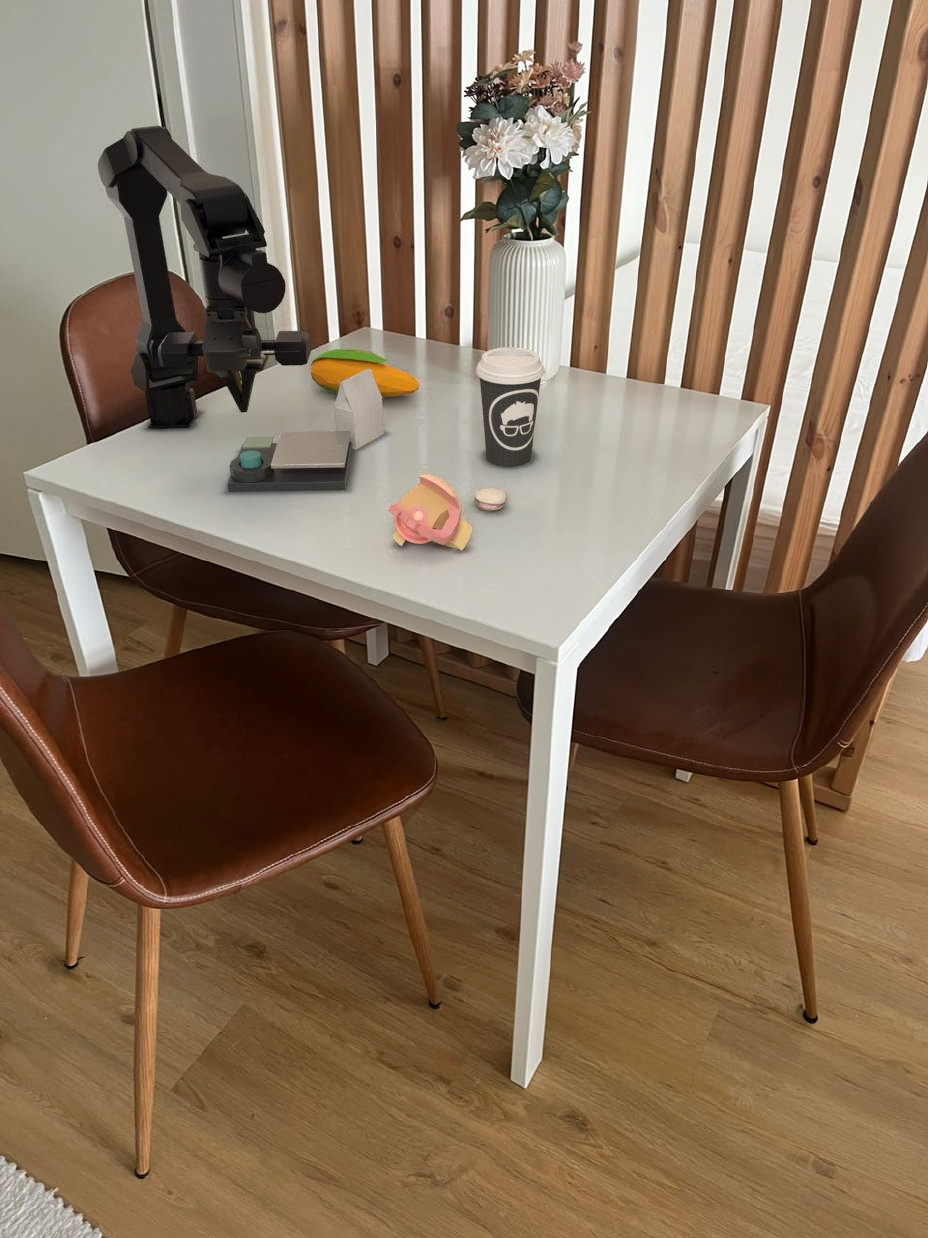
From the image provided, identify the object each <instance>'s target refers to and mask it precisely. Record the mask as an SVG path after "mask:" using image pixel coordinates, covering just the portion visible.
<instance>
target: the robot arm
mask: <svg viewBox="0 0 928 1238" xmlns="http://www.w3.org/2000/svg"><path fill="white" fill-rule="evenodd" d="M97 170H98V171H97V172H98V175H99V178H100V181H101V183H102V185H103V186H104V188H105V191H106V195H107V197H108V199H109V200H110V201H111V203H112V204H113V205H114V206H115V208H117V210H118V211H119V212H120V213H121V215H122V216H123V219H124V220H123V221H124V225H125V231H126V232H125V233H126V235H127V243H128V247H129V252H130V257H131V263H132V268H133V274H134V281H135V285H136V290H137V296H138V301H139V306H140V312H141V315H142V321H141V323H140V326H139V328H138V331H137V334H136V335H135V340H134V341H135V347H136V349H135V350H136V353H135V355H134V358H133V362H132V366H131V368H130V374H131V377H132V380H133V384H134V385H135V386H136V387H137V388H139V389H140V390H141V391H142V392H144V396H145V400H146V401H145V402H146V406H147V411H148V415H149V416H148V417H149V421H148V423H147V428H148V429H187V428H190V427H191V425H192V423H193V422H194V420H195V419H196V417H197V415H198V407H197V401H196V393H195V389H193V388H191V387H190V385H191V384H190V383H193V382H198V380H199V357H203V358H204V361H205V365H206V367H205V370H206V372H208V373H214V374H216V375H217V376H218V378H220V379H221V380H222V382H223V383H224V384H225V386H226V388H227V389H228V391H229V393H230V395H231V398H233V401H234V403H235V404H236V406H237V408H238V411H239V412H240V413H243V414H244V413H248V411H249V407H250V402H251V396H252V393H253V387H254V383H255V378H256V375H257V372H258V373H260V372H263V371H264V370H265V369H266V365H267V363H268V360H269V356H274V360H275V361H276V362H277V363H278V364H280V365H281V366H282V367H287V366H289V367H290V366H292V367H293V366H305V365H307V364H308V362H309V359H310V356H311V353H312V343H311V336H310V334H309V333H308V332H307V331H306V330H279V331H278V333H277V336H276V338H275V339H262V337H261V333H260V331H259V329H258V328H257V326H256V319H255V313H257V314H267V313H271V312H273V311H275V310H276V309H277V308H278V307H280V305H281V303H282V302H283V300H284V298H285V295H286V279H285V278H284V276H283V274H282V272H281V271H280V270H279V268H278V267H277V266H275V265H273V264H272V263H269V262H268V257H267V252H266V251H264V250H261V248H266V247H267V246H268V243H267V240H266V238H265V233H266V230H265V227H264V226H263V224H262V222H261V220H260V218H259V216H258V214H257V212H256V210H255V209H254V206H253V204H252V202H251V199H250V198H249V196H248V195H247V193H246V192H245V191H244V190H243V188H242V187H241V186H240V185H239V184H238V183H237V182H234V181H233V180H231V179H230V178H227V177H225V176H222V175H217V174H212V173H209V172H207V171H206V170H205V169H204V168H203V167H201V166H200V165H199V163H197V162H196V161H195V159H193V157H191V156H190V155H189V154H188V153H187V151H185V150H184V149H183V148H182V147H181V146H180V145H179V144H178V143H177V142H176V141H175V140H174V139H173V138H172V135H171V133H170V131H169V129H168V128H167V127H166V126H163V127H162V126H161V125H152V126H151V125H150V126H142V127H133V128H131V129H130V130H128V131H126V132H125V134H124V135H123V137H122V138H121V139H118V140H117V141H115V142H114V143H112V144H110V145H109V146H106V147H105V148H104V150H103V151H102V153H101V155H100V156H99V159H98V161H97ZM168 193H169V194H170V195H171V196H172V197H173V198H174V199H175V200H176V201H177V203H178V204H179V205H180V220H181V222H182V224H183V225H184V227H185V229H186V231H187V232H188V234H189V236H190V237H191V239H192V241H193V242H194V243H193V245H192V249H193V251H195V252H197V253H198V259H199V266H200V273H201V279H202V280H201V281H202V286H203V292H204V293H203V294H204V299H205V300H204V301H205V306H206V307H205V313H206V314H205V317H206V323H205V327H204V335H203V340H199V339H198V334H197V333H196V332H195V331H188V332H187V330H186V329H185V328H184V327H183V326H182V325H181V323H180V322H179V321H178V320H177V315H176V309H175V303H174V297H173V291H172V284H171V279H170V274H169V267H168V261H167V260H168V259H167V256H166V250H165V244H164V237H163V232H162V231H163V230H162V226H161V218H160V215H161V213H162V211H163V207H164V205H165V202H166V200H167V198H168ZM246 232H247V234H245V233H246ZM257 249H259V250H257Z"/></svg>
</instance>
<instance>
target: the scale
mask: <svg viewBox="0 0 928 1238" xmlns="http://www.w3.org/2000/svg"><path fill="white" fill-rule="evenodd" d="M277 443H278V442H272V445H271V448H242V446H243V443H241V447H240V450H239V452H238V455H237V457H236V458H234V459H232V460H230V464H229V471H230V476H229V478H228V481H227V483H226V484H227V490H228V493H255V492H256V493H257V492H258V493H261V492H262V493H263V492H264V493H265V492H320V491H321V492H323V491H324V492H327V491H328V492H329V491H330V492H331V491H346V489H347V484H348V477H349V471H350V465H351V461H352V454H353V448H352V443H351V442H349V444H348V450H347V456H346V461H345V467H344V468H279V469H271V462H272V459H273V456H274V453H275V450H276V446H277ZM246 451H257V452H259V453H260V455H261V462H262V465H261V466H259V467H255V468H243V467H241V461H240V454H241V453H243V452H246Z"/></svg>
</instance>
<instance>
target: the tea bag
mask: <svg viewBox="0 0 928 1238" xmlns="http://www.w3.org/2000/svg"><path fill="white" fill-rule="evenodd" d="M336 395H337V396H336V399H335V402H334V404H333V416H334V427H335V428H334V429H335V431H350V439H349V442H351V443H352V450H358V449H360V448H362V447H363V446H365V445H367V444H369V443H370V442H372V441H374V440H376V439H378V438H379V437H381V436H383V435H384V434H385V430H384V429H385V425H384V409H383V408H384V407H383V397H382V396H381V394H380V391H379V389H378V387H377V384H376V382H375V379H374V377H373V374H372V370H371V369H367V370H365V371H363V372H361V373H359V374H356V375H354V376H352V377H350V378H348V379H346V380H344V381H342V382H340V387H339V392H338V394H336Z"/></svg>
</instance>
